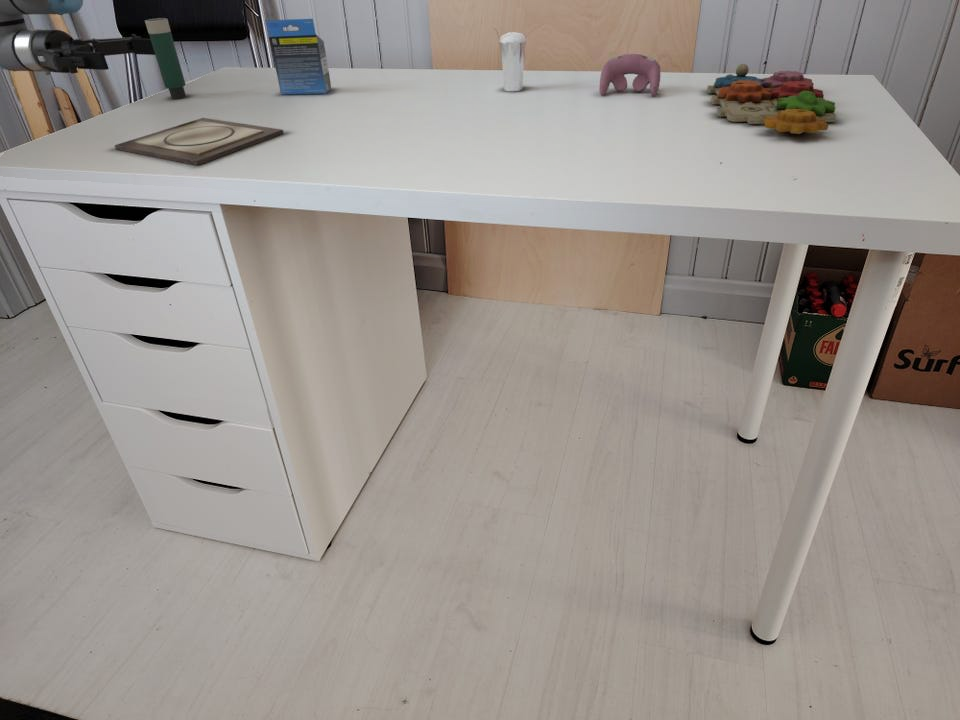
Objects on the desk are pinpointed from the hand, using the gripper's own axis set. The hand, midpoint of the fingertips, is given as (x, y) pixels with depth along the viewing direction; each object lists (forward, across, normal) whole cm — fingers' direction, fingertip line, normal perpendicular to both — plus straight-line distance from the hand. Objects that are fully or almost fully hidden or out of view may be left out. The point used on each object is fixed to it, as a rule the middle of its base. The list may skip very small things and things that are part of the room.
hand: (133, 53), depth 119 cm
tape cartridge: (+30, -8, -8) cm, 32 cm away
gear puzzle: (+111, -10, -8) cm, 111 cm away
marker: (+8, 0, -7) cm, 11 cm away
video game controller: (+88, -18, -8) cm, 90 cm away
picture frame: (+32, +23, -7) cm, 40 cm away
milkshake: (+68, -16, -8) cm, 70 cm away
